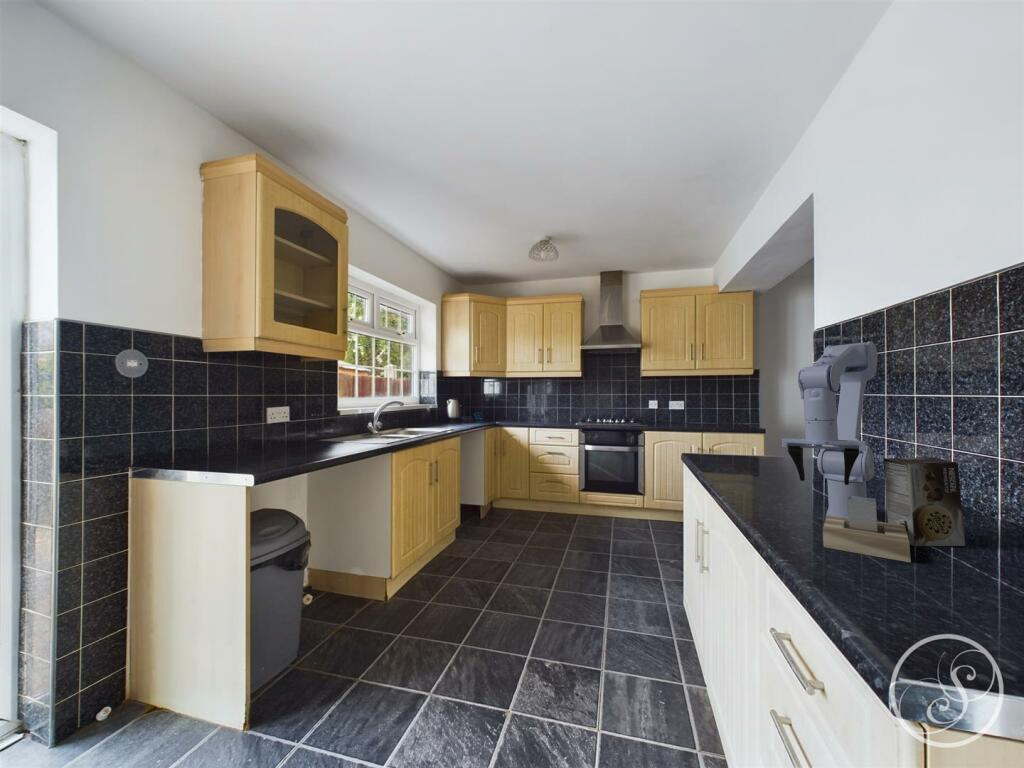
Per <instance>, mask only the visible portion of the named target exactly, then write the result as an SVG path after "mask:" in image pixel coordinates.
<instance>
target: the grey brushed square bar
mask: <svg viewBox="0 0 1024 768" xmlns="http://www.w3.org/2000/svg"><path fill="white" fill-rule="evenodd" d="M848 510H849V527H850V529H854V530H861V531H867V532H874V533H878V527H877V522H878V515H877V500H876V498H873V497H867V498H866V497H857V496H849V498H848Z"/></svg>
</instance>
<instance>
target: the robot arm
mask: <svg viewBox="0 0 1024 768" xmlns="http://www.w3.org/2000/svg"><path fill="white" fill-rule="evenodd" d="M877 367H878V350H877V346H876V344H875V343H874V342H873V341H871V340H870V341H867V342H859V343H858V342H857V343H848V344H838V345H836V344H835V345H830V344H829V345H827V346H826V347H825V349H824V350H823V354H822V355H821V356H820V357H819V358H818V359H817V360H816V361H815V362H814V363H813V364H812V365H811V366H804V367H803V368H802V369H800V370H799V371H798V374H797V384H798V385H797V386H798V388H799V391H800V399H801V400H803V413H804V431H805V438H790V437H789V438H787V437H785V438H784V437H783V438H781V445H782V448H787V452H788V454H789V456H790V458H791V459H792V461H793V463H794V465H795V468H796V470H797V473H798V476H799V481H800V482H804V481H805V480H806V479H805V477H806V475H805V468H804V449H819V452H818V455H817V461H816V463H817V464H816V465H817V469H818V471H819V473H820V474H821V475H822V476H824V478H823V479H826V481H827V482H826V483H827V498H828V499H827V500H828V508H827V511H826V513H825V517H826V516H827V515H831V516H839V517H846V518H849V510H848V498H849V496H857V497H866V498H868V496H867V482H868V481H870V480H872V478H874V475H875V474H874V473H875V461H874V451H872V449H871V447H870V446H869V445H867V444H866V441H865V440H860V439H861V429H862V428H861V427H862V420H863V419H862V418H863V409H864V408H863V406H864V398H865V389H866V386H867V383H868V381H870V380H872V379H874V378H875V377H876V372H877ZM839 387H840V392H839V399H838V406H837V396H836V392H837V391H838V390H839ZM837 407H838V408H837Z"/></svg>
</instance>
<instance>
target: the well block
mask: <svg viewBox="0 0 1024 768" xmlns="http://www.w3.org/2000/svg"><path fill="white" fill-rule="evenodd" d="M877 527H878V533H874V532H867V531H861V530H854V529H850V527H849V518H846V517H839V516H831V515H827V516H826V515H825V520H824V524H823V526H822V541H823V542H822V543H823V548H825V549H826V548H827V549H832V550H838V551H844V552H848V553H849V552H850V553H855V554H860V555H866V556H871V557H878V558H883V559H884V558H885V559H888V560H894V561H901V562H906V563H912V562H911V561H912V559H911V550H910V549H911V547H910V546H911V544H909V539H908V536H907V533H906V529H905V526H904V525H899V524H891V523H888V522H881V521H877Z"/></svg>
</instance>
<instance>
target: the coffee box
mask: <svg viewBox="0 0 1024 768" xmlns="http://www.w3.org/2000/svg"><path fill="white" fill-rule="evenodd" d="M883 471H884V483H885V484H884V485H885V486H884V487H885V499H886V501H885V502H886V513H887V515H886V516H887V523H891V524H899V525H904V526H905V529H906V533H907V536H908V539H909V544H910V546H913V547H965V546H966V541H965V540H966V539H965V531H964V519H963V504H962V494H961V483H960V473H959V462H958V461H950V460H946V459H942V458H934V457H894V458H892V457H891V458H887V457H884V458H883Z"/></svg>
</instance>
